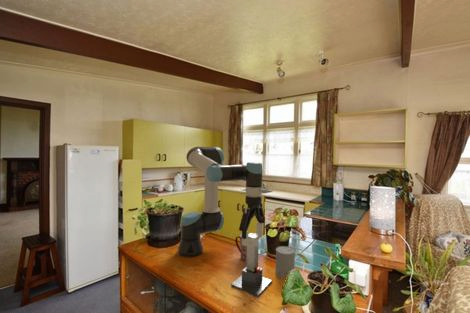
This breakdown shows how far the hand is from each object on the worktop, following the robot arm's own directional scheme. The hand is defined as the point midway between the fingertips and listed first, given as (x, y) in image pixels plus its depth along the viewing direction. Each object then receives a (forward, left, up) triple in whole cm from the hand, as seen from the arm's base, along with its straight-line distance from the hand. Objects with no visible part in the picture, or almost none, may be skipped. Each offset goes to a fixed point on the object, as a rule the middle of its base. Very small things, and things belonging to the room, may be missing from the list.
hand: (252, 240), depth 109 cm
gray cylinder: (+9, +18, -21) cm, 29 cm away
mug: (-17, +21, -21) cm, 34 cm away
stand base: (0, 0, -21) cm, 21 cm away
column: (0, 0, -13) cm, 13 cm away
